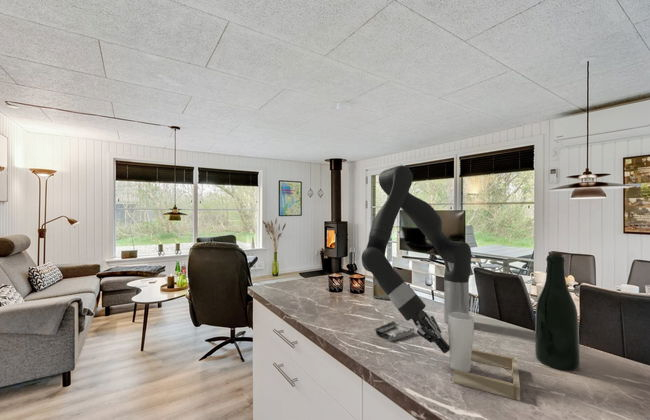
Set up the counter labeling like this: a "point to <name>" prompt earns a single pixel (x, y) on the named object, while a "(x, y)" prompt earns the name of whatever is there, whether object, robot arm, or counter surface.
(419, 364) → the counter surface
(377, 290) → the coffee box
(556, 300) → the beer bottle
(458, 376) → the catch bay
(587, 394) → the counter surface
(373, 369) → the counter surface
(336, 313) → the counter surface
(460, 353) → the drinking glass
